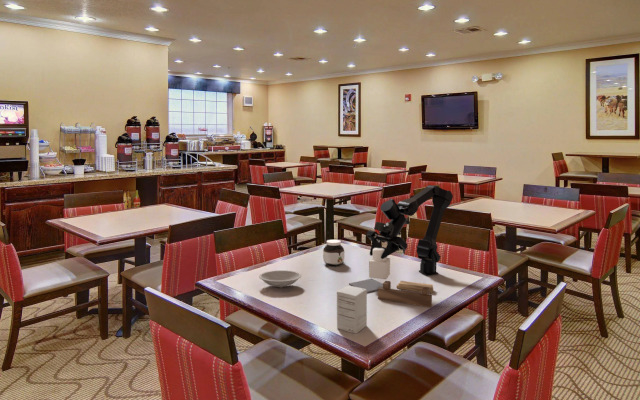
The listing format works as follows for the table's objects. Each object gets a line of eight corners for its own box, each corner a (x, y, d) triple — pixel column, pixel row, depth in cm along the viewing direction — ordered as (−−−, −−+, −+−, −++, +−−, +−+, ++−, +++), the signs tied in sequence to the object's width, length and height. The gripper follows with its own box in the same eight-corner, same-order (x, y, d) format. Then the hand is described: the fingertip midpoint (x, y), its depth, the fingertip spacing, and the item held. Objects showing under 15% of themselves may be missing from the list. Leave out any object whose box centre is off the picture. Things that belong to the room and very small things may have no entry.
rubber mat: (371, 279, 187) (371, 278, 187) (389, 287, 177) (389, 286, 177) (348, 284, 181) (348, 283, 181) (366, 293, 171) (366, 291, 171)
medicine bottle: (373, 272, 181) (373, 245, 179) (390, 274, 178) (390, 246, 176) (368, 277, 174) (369, 249, 172) (386, 279, 172) (386, 250, 170)
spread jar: (329, 267, 205) (329, 244, 203) (317, 262, 215) (317, 239, 213) (349, 264, 211) (350, 241, 209) (337, 258, 221) (337, 236, 219)
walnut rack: (381, 294, 169) (382, 280, 168) (433, 303, 160) (433, 287, 159) (378, 298, 165) (378, 283, 164) (430, 307, 156) (431, 291, 155)
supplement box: (347, 320, 145) (348, 284, 143) (367, 326, 141) (367, 288, 139) (336, 328, 139) (336, 291, 137) (356, 334, 135) (356, 295, 133)
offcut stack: (399, 285, 180) (399, 279, 180) (433, 290, 174) (433, 284, 173) (396, 288, 176) (396, 283, 175) (430, 294, 170) (431, 288, 169)
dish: (303, 281, 185) (303, 270, 184) (299, 293, 171) (299, 281, 170) (262, 281, 186) (262, 270, 185) (256, 292, 172) (255, 280, 171)
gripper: (369, 211, 182) (349, 241, 177) (403, 217, 167) (382, 249, 162) (382, 227, 188) (363, 256, 183) (415, 234, 173) (396, 266, 168)
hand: (375, 256), depth 174 cm, fingers closed on medicine bottle, 6 cm apart
